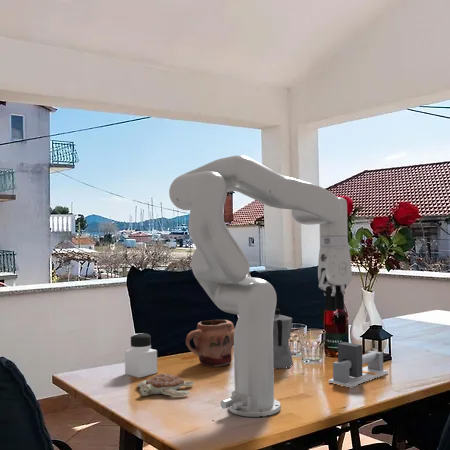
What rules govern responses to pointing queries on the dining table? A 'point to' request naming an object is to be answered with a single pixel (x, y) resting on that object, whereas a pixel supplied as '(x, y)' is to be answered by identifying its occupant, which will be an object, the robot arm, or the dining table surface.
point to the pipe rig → (369, 371)
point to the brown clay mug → (212, 342)
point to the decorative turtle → (163, 385)
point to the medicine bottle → (140, 357)
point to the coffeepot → (281, 341)
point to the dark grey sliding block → (351, 357)
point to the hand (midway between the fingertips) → (334, 309)
